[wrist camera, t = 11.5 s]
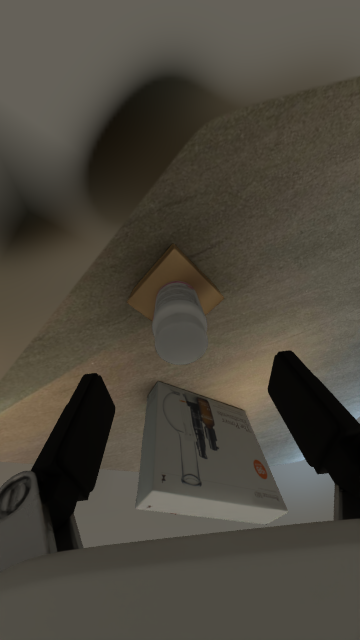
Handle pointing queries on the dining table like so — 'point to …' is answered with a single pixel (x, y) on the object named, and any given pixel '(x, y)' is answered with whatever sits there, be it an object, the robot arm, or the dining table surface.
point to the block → (168, 270)
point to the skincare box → (203, 461)
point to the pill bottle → (179, 324)
